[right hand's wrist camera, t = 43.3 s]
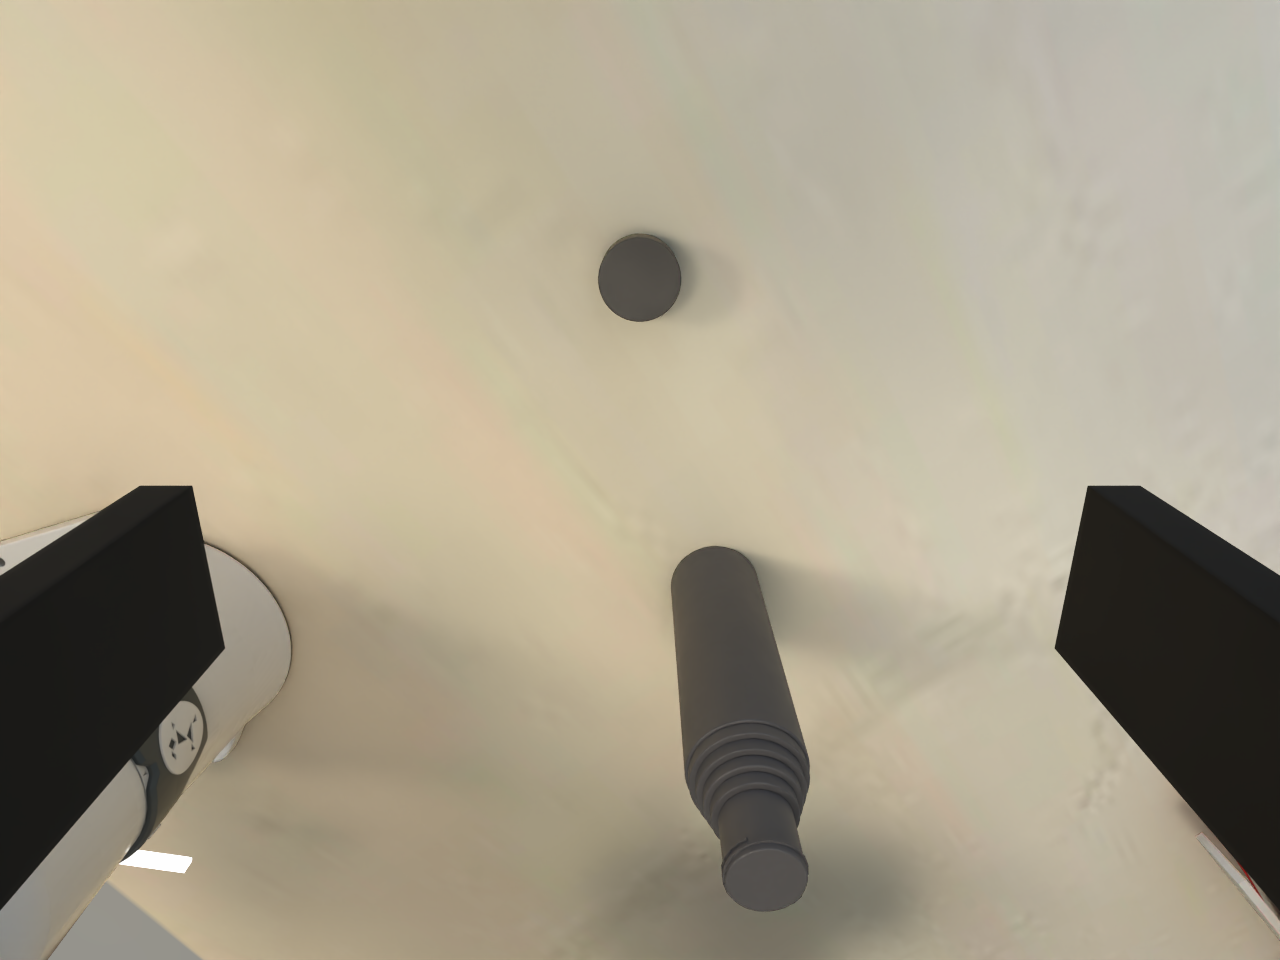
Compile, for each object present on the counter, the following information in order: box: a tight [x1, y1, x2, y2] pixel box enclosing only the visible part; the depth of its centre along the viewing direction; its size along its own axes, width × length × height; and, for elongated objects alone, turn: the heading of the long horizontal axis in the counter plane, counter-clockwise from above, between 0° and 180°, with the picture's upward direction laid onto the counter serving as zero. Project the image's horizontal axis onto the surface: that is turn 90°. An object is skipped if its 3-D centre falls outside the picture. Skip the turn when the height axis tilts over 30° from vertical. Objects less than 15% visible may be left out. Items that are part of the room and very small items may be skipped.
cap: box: [598, 234, 681, 322], centre depth 45 cm, size 4×4×2 cm
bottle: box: [671, 547, 810, 912], centre depth 42 cm, size 6×6×23 cm
